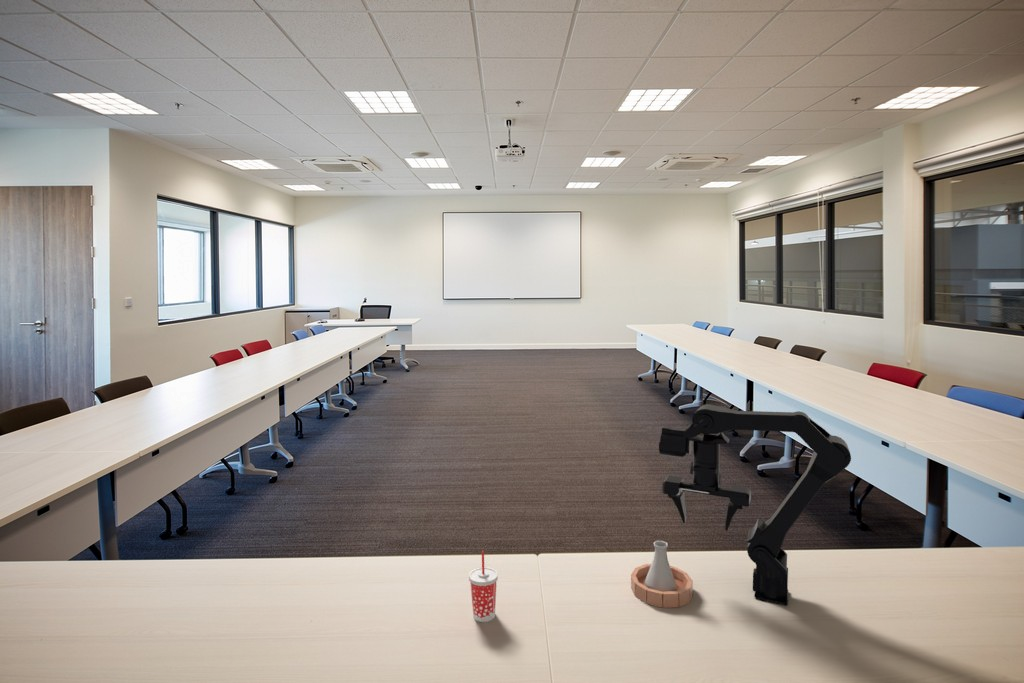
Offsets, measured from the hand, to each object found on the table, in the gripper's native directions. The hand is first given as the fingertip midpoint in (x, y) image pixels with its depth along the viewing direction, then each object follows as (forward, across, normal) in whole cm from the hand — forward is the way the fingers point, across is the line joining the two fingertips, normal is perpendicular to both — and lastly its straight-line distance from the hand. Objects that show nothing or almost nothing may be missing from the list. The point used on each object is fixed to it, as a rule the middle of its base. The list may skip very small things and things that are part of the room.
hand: (705, 526), depth 123 cm
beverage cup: (+14, +39, +35) cm, 54 cm away
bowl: (+13, +8, +9) cm, 18 cm away
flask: (+12, +8, +9) cm, 17 cm away
